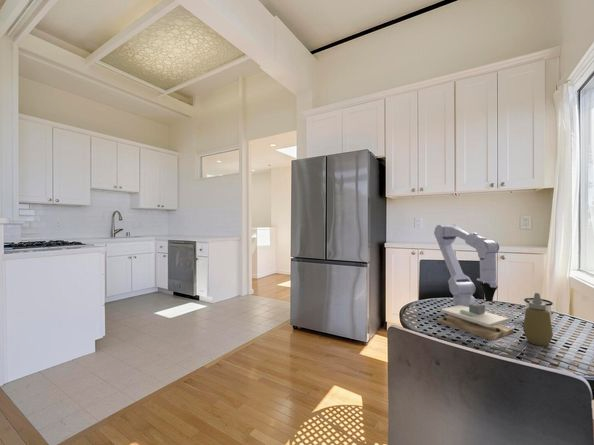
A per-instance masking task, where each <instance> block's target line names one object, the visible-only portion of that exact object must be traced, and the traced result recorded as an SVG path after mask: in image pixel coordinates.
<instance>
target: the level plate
mask: <svg viewBox="0 0 594 445" xmlns="http://www.w3.org/2000/svg"><path fill="white" fill-rule="evenodd" d="M485 308H486V306H485V305H483V304H479V303H477V302H476V303H473V304H469V307H466V306H463V305H457V306H454V305H453V306H449V307H443V308H441V309H440V312H441V313H443V314H447V315H448V316H449V315H452V316H456V317H459V318H462V319H465V320H468V321H471V322H474V323H477V324H480V325H483V326H486V327H492V326H495V325H502V324H505V323H508V322H510V318H509V317H505V316H501V315H498V314H495V313H491V312H487V311H486V309H485Z"/></svg>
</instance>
